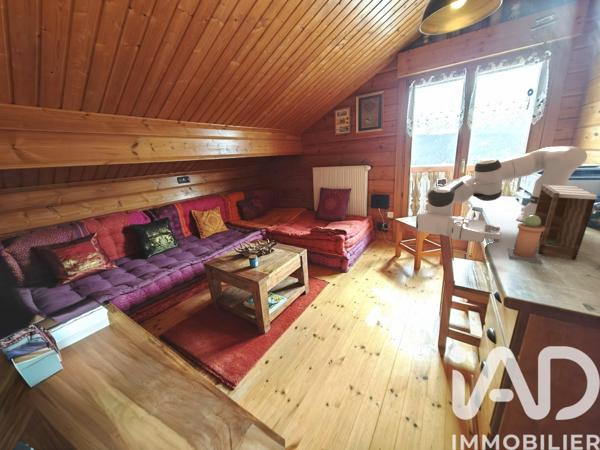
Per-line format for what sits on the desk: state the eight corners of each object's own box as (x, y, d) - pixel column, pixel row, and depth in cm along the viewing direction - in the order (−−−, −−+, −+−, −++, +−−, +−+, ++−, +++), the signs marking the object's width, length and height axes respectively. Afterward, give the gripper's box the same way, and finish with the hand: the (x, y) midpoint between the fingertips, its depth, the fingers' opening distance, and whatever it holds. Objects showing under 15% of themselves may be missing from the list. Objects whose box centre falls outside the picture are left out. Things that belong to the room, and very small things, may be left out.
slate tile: (507, 250, 94) (508, 247, 94) (537, 254, 89) (537, 252, 89) (509, 258, 87) (510, 255, 87) (541, 263, 82) (541, 261, 82)
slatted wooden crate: (528, 235, 109) (541, 184, 102) (559, 239, 103) (575, 185, 96) (537, 254, 90) (554, 192, 83) (575, 260, 84) (597, 194, 77)
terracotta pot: (510, 249, 93) (519, 211, 88) (535, 253, 89) (546, 214, 84) (512, 255, 87) (521, 216, 83) (538, 259, 83) (550, 218, 79)
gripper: (458, 227, 107) (497, 233, 99) (453, 241, 92) (499, 248, 84) (460, 214, 106) (500, 218, 97) (455, 226, 90) (502, 232, 82)
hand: (500, 232), depth 91 cm, fingers open, 8 cm apart
